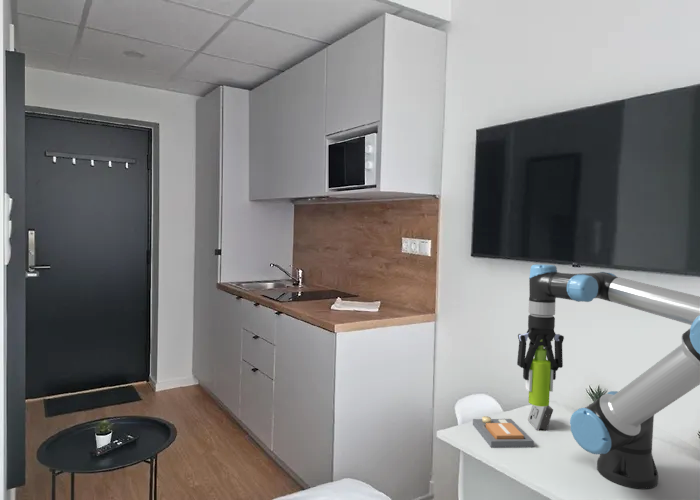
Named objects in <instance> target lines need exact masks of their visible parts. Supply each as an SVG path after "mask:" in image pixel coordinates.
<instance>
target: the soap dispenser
mask: <svg viewBox="0 0 700 500" xmlns="http://www.w3.org/2000/svg"><path fill="white" fill-rule="evenodd" d="M541 341H542V339H541ZM541 341H540V342H541ZM553 341H554V339H552V341H551V342H553ZM546 352H547V350H546V349H545V348H544V346H543V345H541V346H538V349H536V352H535V355H534V358H533V361H532V364H531V367H530V369H531V370H532V392H529V391H528V403H529V404H530V405H531V406H532V405H535V406H543V407H544V406H548V405H549V406H550V393H551V392H550V365H551V362H550V361H549V360H548V359H547V356H546Z"/></svg>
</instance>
